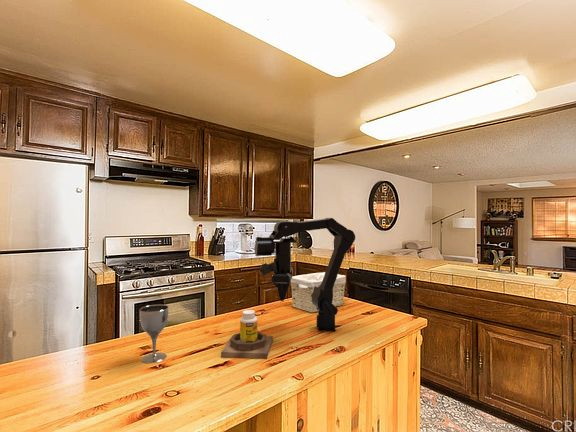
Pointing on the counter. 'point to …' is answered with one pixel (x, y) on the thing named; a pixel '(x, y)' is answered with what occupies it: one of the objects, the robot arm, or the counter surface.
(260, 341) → the walnut stand
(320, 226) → the robot arm
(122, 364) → the counter surface
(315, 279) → the storage basket
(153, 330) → the wine glass
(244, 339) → the supplement bottle
